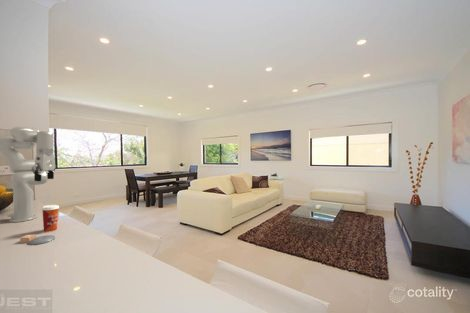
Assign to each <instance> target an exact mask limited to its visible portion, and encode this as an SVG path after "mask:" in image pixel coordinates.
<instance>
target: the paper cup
mask: <svg viewBox="0 0 470 313" xmlns="http://www.w3.org/2000/svg"><path fill="white" fill-rule="evenodd" d="M59 209H60V206H59V205H58V204H47V205H44V206H42V208H41V211H42V222H43V223H42V224H43V225H42V226H43V232H44V231H45V232H46V233H49V231H50V232H55V231H56V230H57V229H58V220H59V219H58V218H59V211H60V210H59Z"/></svg>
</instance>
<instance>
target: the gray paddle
mask: <svg viewBox="0 0 470 313" xmlns="http://www.w3.org/2000/svg"><path fill="white" fill-rule="evenodd" d="M55 239H56V236H55V235H52V234H51V235H40V236H38V237H37V234H25V235H23V236H21V237H20V238H19V243H21V244H25V243H26V244H27V243H28V244H27V245H29V246H38V245H43V244H48V243H51V242H53V241H54V240H55ZM52 240H53V241H52ZM50 241H51V242H50Z"/></svg>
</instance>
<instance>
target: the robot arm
mask: <svg viewBox="0 0 470 313" xmlns="http://www.w3.org/2000/svg"><path fill="white" fill-rule="evenodd" d="M9 134H10V136H3V137H0V154H1V156H3V158H5V160H6V162H7V165H8V168H9V169H10V171H11V173H12V175H11V184H12V190H13V191H12V197H13V198H12V199H13V201H12V204H13V205H12V207H13V208H12V209H13V210H12V212H9V213H8V214H7V215H6V216H7V217H8V218H9V217H10V218H9V222H10V223H19V222H21V223H22V222H26V221H32V220H34V219H37V216H38V215H36V214H34V208H35V207H34V206H35V205H34V203H35V199H34V198H35V195H34V194H35V192H34V190H33V189H32V188H31V186H40V185H45V184H47V182H48V181H49V180H53V179H54V178H55V177H54V174H55V171H56V168H57V165H56V162H55V161H56V160H55V159H56V158H55V154H54V133H53V132H51V131H40V130H39V129H38V128H34V127H26V126H15V127H13V128H11V129H10V130H9ZM35 145H36V150H35V151H36V152H35V159H27V158H25V156H24V155H23V154H22V153H21V152H20V151H18V150H32V149H34V147H35Z"/></svg>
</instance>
